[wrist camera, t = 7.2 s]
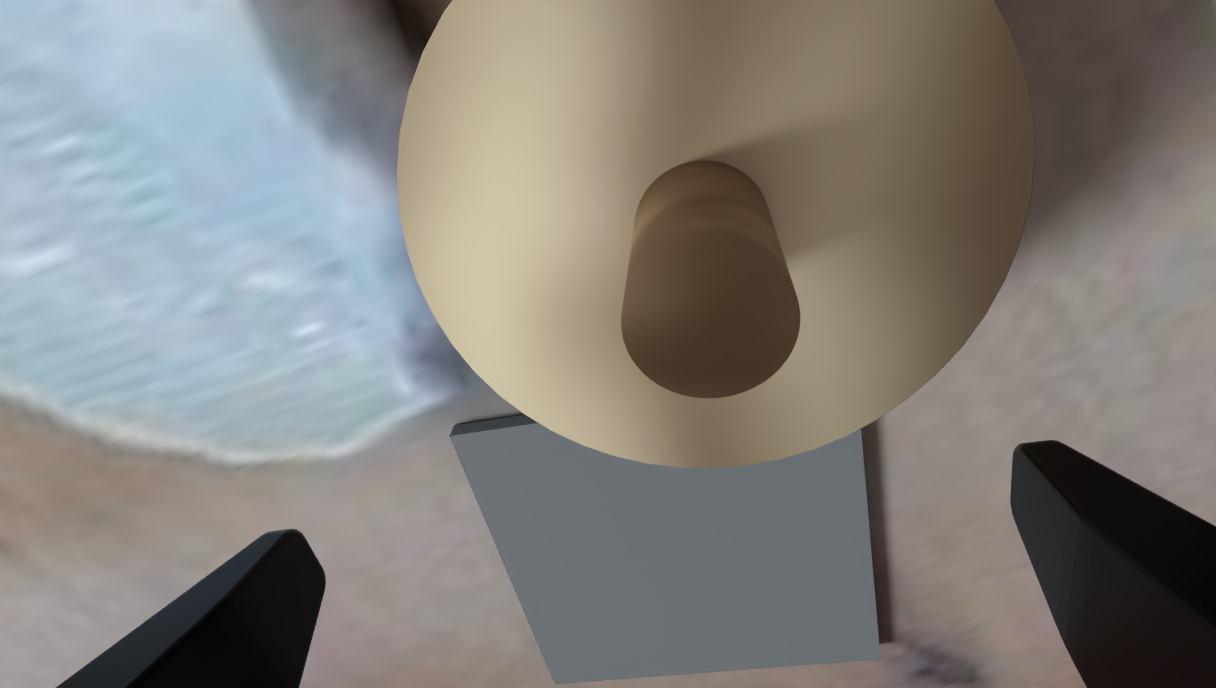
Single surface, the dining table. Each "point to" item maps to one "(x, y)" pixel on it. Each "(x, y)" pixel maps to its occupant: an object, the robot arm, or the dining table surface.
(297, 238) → the dining table surface
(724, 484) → the mat
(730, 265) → the lid
